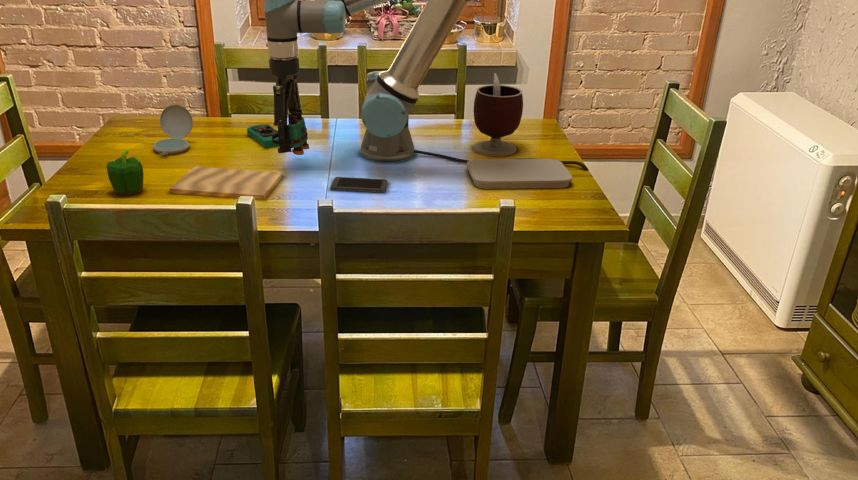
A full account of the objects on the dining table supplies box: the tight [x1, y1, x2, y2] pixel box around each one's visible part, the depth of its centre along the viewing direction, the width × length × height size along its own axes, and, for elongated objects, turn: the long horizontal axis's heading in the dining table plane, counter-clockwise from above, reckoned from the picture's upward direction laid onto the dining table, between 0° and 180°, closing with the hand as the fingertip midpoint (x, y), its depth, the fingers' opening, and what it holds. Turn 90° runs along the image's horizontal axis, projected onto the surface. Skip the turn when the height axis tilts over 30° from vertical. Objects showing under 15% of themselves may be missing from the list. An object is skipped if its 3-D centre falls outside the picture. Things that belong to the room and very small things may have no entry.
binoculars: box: [272, 109, 310, 156], centre depth 194 cm, size 9×11×10 cm
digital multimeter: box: [246, 123, 279, 149], centre depth 217 cm, size 7×15×3 cm, turn 31°
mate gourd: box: [473, 72, 524, 157], centre depth 211 cm, size 16×14×20 cm
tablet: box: [466, 158, 573, 190], centre depth 194 cm, size 16×26×2 cm, turn 94°
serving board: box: [169, 165, 284, 201], centre depth 186 cm, size 24×16×1 cm, turn 82°
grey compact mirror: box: [152, 104, 194, 156], centre depth 207 cm, size 10×11×15 cm
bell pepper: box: [106, 149, 145, 195], centre depth 179 cm, size 8×8×10 cm
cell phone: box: [330, 176, 389, 193], centre depth 187 cm, size 7×14×1 cm, turn 85°
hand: (290, 143), depth 195 cm, fingers closed on binoculars, 9 cm apart
